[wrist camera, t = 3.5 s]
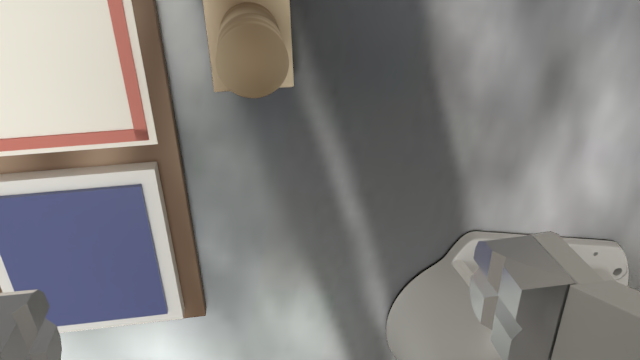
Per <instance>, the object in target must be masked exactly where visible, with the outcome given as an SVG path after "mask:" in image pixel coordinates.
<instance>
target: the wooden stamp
mask: <svg viewBox="0 0 640 360" xmlns="http://www.w3.org/2000/svg"><path fill="white" fill-rule="evenodd" d="M203 7H204V15H205V23H206V31H207V39H208V47H209V55H210V63H211V71H212V79H213V87H214V92H223V91H232V92H233V93H235V94H237V95H239V96H242V97H246V98H260V97H264V96H267V95H269V94H271V93H273V92H274V91H275V90H277V89H278V88H282V87H294V78H293V58H292V38H291V19H290V0H203Z"/></svg>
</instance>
